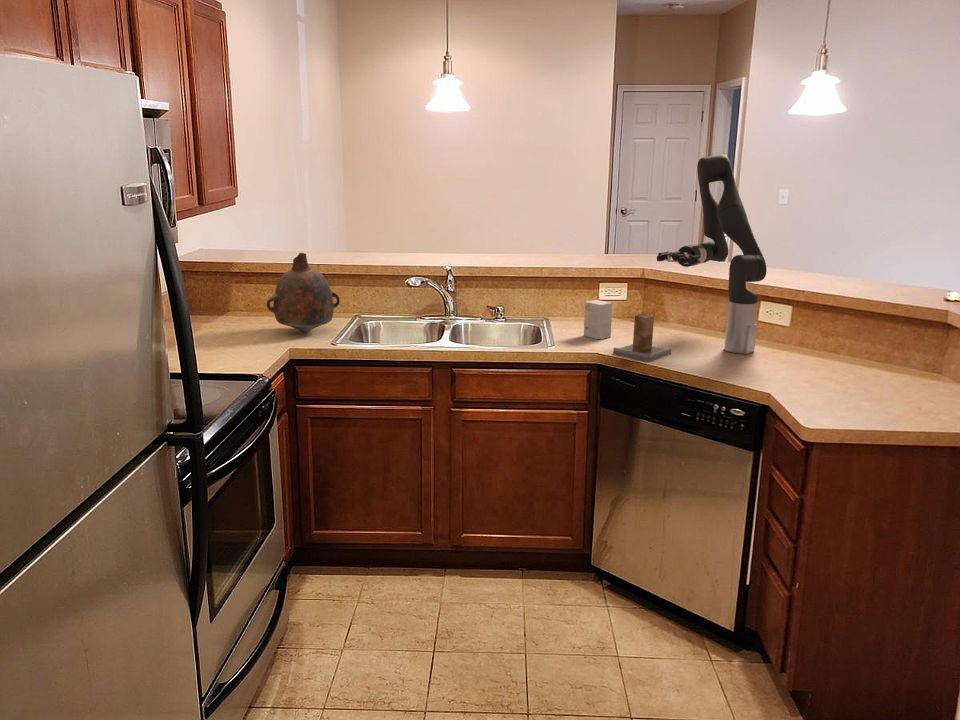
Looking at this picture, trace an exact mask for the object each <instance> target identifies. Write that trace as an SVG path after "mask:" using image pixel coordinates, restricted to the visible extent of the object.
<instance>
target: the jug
mask: <svg viewBox="0 0 960 720" xmlns="http://www.w3.org/2000/svg"><path fill="white" fill-rule="evenodd" d="M333 299H336V302H335V303H334V300H333ZM340 300H341V299H340V297H339V295H338V294H337V293H336V292H334V291H332V290H331V287H330V284H329V282H328V281H327V278H326V277H325V276H324V275H323V274H322V273H321V272H320V271H318V270H317V269H315V268H311V267H310V264H309V262H308V257H307V254H306V253H305V252H299V253H298V254H297V256H295V257H294V258H293V261H292V267H291V269H290V270H288V271H286V272H284V273H283V274H282V275H281V277H280V278H279V280H278V282H277V284H276V287H275V291H274V294H273V295H272V296H270V297H269V298H268V299H267V301H266V308H267V309H268V311H270V313H271V312H272V313H274V314H273V315H274V317H275V318H274V319H276V321H277V323H278V324H280V325H284V326H287V327H290V328H293V329H295V330H298V331H299V332H302V333H309V332H310V331H312V330H313V329H316V328H318V327H322V326H324V325H326V324H329V323H330V322H331V321H332V320H333V317H334V310H335V309H336V308H337V307H338V306H339V305H340ZM272 302H273V306H271V303H272Z"/></svg>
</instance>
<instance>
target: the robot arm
mask: <svg viewBox="0 0 960 720" xmlns="http://www.w3.org/2000/svg"><path fill="white" fill-rule="evenodd" d="M696 166H697V167H696V169H697V170H696V171H697V179H698V187H699V193H700V200H701V205H702V213H703V214H702V215H703V234H704V235H703V236H705V238H709V239H711V240H712V241H706V240H705V241H702V242H701V243H700V244H690V245H684V246H681V247H680V248H678V250H677V251H669V250H667V251H663V252H658V255H656V261H657V262H666V261H667V262H668V263H677V264H678V265H680V266H682V267H684V268H688V267H693V266H694V267H695V266H698V265H700V264H705V263H707V262H709V261H713V262H718V263H719V262H724V261H726V259H727V258H728V255H729V245H728V242H727V238H726V236H727V237H728V238H729V239H730V240H731V241H732V242H733V243H735V245H736V246H738V248H739V250H740V251H741V253H742V254H737V255H735V256H733V257H732V259H731V261H730V263H729V268H728V286H727V287H728V291H727V292H728V296H729V297H728V307H727V318H726V328H725V338H724V350H725V351H726V352H729V353H733V354H745V355H748V354H750V353H753V352H755V351H756V350H755V347H756V340H757V338H756V337H757V330H758V324H757V323H756V316H757V307H758V306H757V305H758V298H759V297H758V296H759V295H758V294H757V293H755V292H753V291H750V290H748V289H747V288H746V287H747V286H746V285H747V283H755V282H756V283H757V282H762V281H763V280H764V279H765V277H766V276H767V264H766V259H765V258H764V254H763V253H762V251H761V249H760V247H759V245H758V242H757V240H756V238H755V235H754V233H753V231H752V228H751V225H750V222H749V218H748V215H747V213H746V209H745V207H744V205H743V202H742V199H741V196H740V193H739V190H738V188H737V184H736V179H735V176H734V172H733V168H732V163H731V161H730V159H729V157H728V155H726V154H721V153H720V154H715V155H709V156H704V157H701V158H699V160H698V162H697V165H696ZM715 182H722V183H723V191H722V195H721V198H720V199H719V202H717V201H716V199H715V198H714V196H713V194H712V193H711V189H710V184H711V183H715Z"/></svg>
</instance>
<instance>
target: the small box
mask: <svg viewBox="0 0 960 720" xmlns="http://www.w3.org/2000/svg"><path fill="white" fill-rule="evenodd" d="M612 315H613V302H609V301H604V300H599V299H594V300H586V301H585V302H584V322H583V325H584V326H583V337H587V338H592V339H595V340H598V339H601V340H605V338H606V339H609V337H610V338H612V337H611V336H612V322H613V320H612V318H613V317H612Z"/></svg>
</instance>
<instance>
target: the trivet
mask: <svg viewBox="0 0 960 720" xmlns="http://www.w3.org/2000/svg"><path fill="white" fill-rule="evenodd" d="M612 354H613V355H617V356H622V357H627V358H631V359H635V360H639V361H645V362H652V361H655V360H657V358H658V359H660V357H661V358H663V357H662V356H664V357H666V356H669V355H671V354H672V348H671V347H668V348H661V347H656V346H652V350H651V351H648V352H645V353H643V352H638V351H634V350H633V343H632V344H630V345H626V346H625V345H624V346H623V347H613V353H612ZM668 354H669V355H668ZM665 355H666V356H665Z"/></svg>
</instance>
